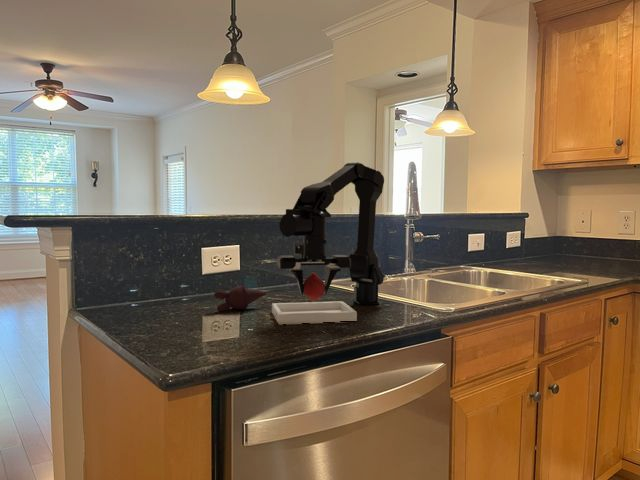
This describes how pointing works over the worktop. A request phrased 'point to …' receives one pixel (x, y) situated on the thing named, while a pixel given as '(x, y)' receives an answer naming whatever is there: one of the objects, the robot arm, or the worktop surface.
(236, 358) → the worktop surface
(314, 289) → the onion
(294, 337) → the worktop surface
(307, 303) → the tray
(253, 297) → the dark red toy figure
